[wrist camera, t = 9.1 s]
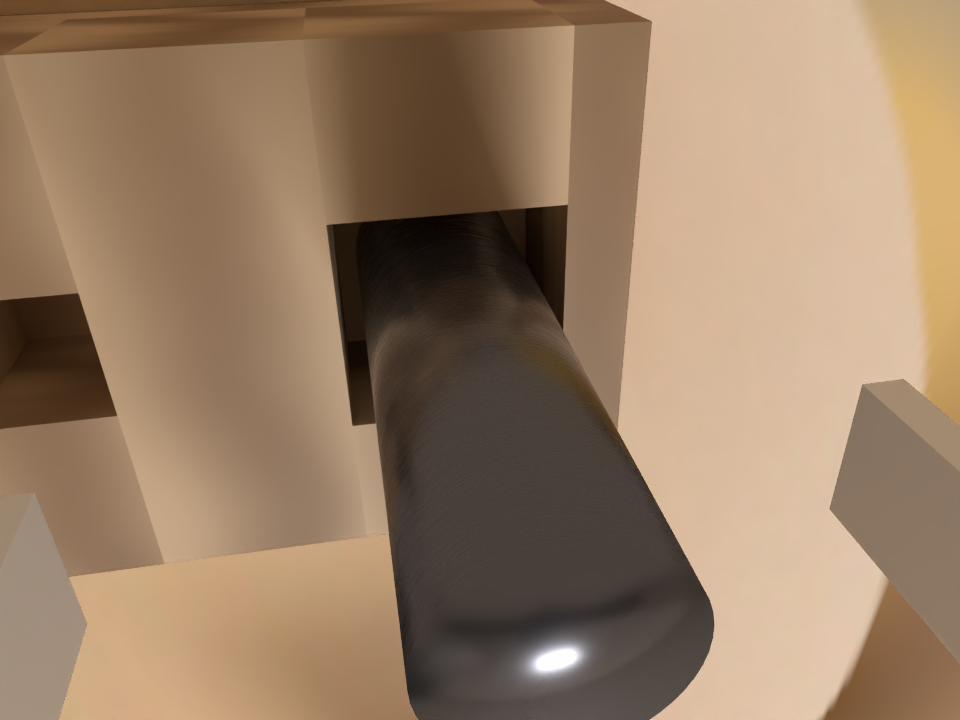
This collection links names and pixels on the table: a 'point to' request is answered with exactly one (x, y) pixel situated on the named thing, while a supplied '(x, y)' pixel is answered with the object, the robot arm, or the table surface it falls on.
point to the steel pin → (512, 495)
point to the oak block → (276, 243)
